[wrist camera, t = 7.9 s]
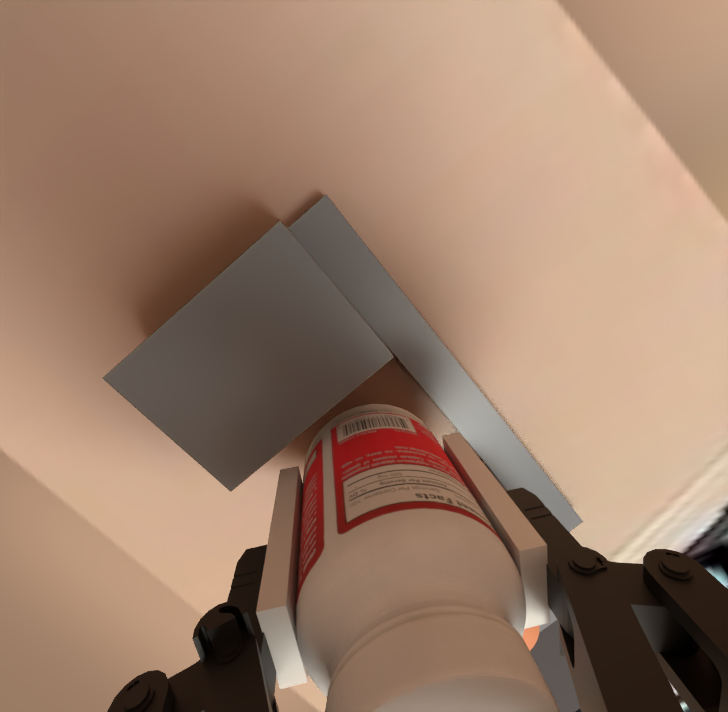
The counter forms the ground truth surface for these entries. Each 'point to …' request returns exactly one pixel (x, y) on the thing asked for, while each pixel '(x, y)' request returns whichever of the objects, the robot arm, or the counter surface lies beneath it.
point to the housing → (304, 358)
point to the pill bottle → (406, 578)
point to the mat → (555, 668)
